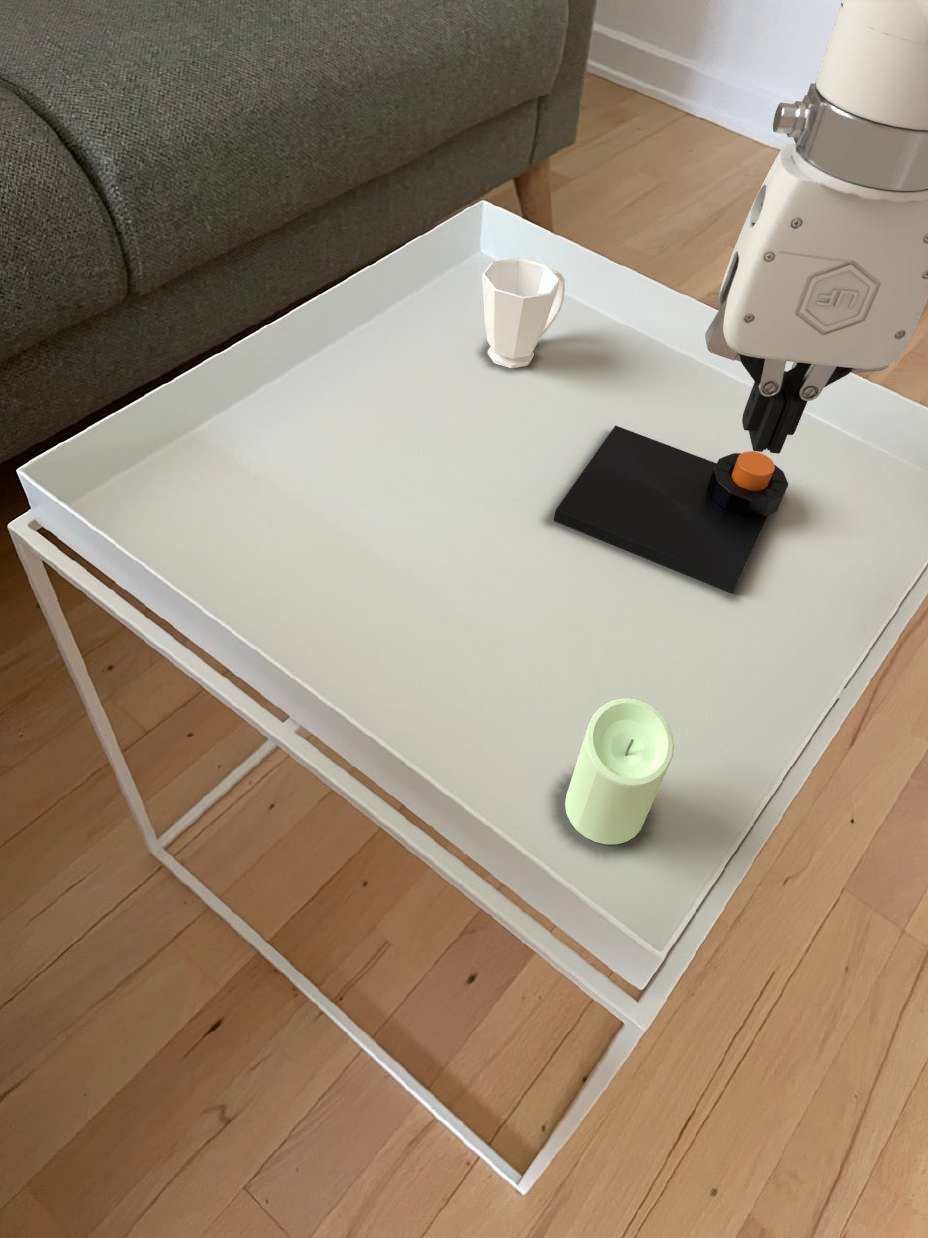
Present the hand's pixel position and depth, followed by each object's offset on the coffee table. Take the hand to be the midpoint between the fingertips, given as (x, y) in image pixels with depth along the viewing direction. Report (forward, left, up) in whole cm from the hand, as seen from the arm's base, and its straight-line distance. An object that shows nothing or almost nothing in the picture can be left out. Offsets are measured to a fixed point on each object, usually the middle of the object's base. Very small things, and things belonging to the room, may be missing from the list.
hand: (762, 438), depth 62 cm
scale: (+6, -9, -16) cm, 19 cm away
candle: (0, +20, -16) cm, 25 cm away
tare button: (+1, -13, -13) cm, 18 cm away
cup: (+26, -23, -16) cm, 38 cm away
